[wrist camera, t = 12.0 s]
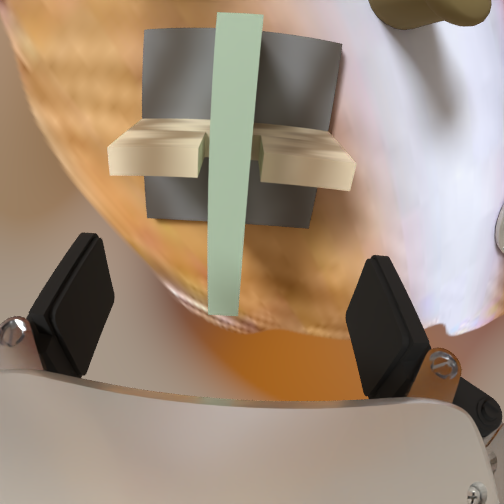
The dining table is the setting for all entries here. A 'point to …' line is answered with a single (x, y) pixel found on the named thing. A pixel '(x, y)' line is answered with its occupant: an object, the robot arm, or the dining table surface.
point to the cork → (430, 12)
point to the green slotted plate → (230, 153)
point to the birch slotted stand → (264, 128)
